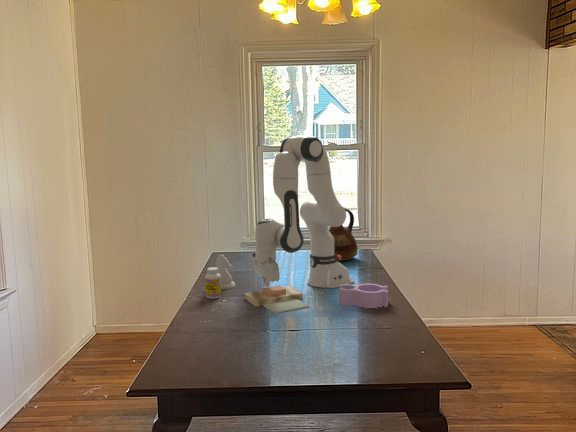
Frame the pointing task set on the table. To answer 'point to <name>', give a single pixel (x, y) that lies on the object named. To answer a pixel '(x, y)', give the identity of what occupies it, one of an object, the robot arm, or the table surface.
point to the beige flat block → (261, 299)
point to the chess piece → (224, 272)
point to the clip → (363, 295)
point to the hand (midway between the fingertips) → (266, 286)
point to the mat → (285, 305)
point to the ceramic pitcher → (344, 240)
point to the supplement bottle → (213, 283)
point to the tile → (273, 291)
